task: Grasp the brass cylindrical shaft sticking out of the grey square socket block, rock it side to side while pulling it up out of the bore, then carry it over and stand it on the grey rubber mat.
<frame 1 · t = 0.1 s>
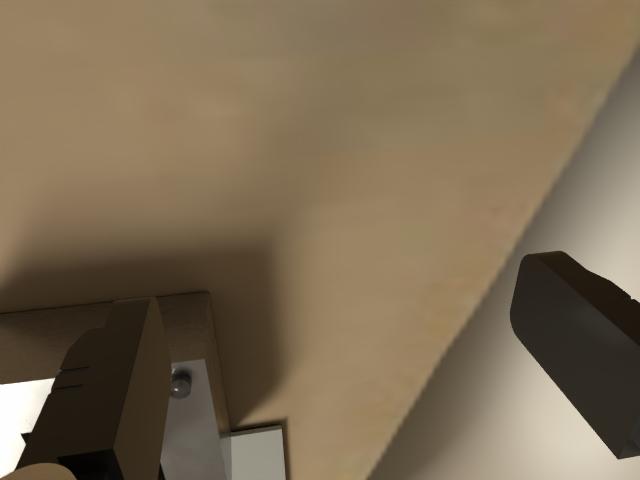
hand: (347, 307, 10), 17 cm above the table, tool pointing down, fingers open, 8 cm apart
rubber mat: (225, 472, 39), on the table
grey square socket block: (119, 383, 32), on the table
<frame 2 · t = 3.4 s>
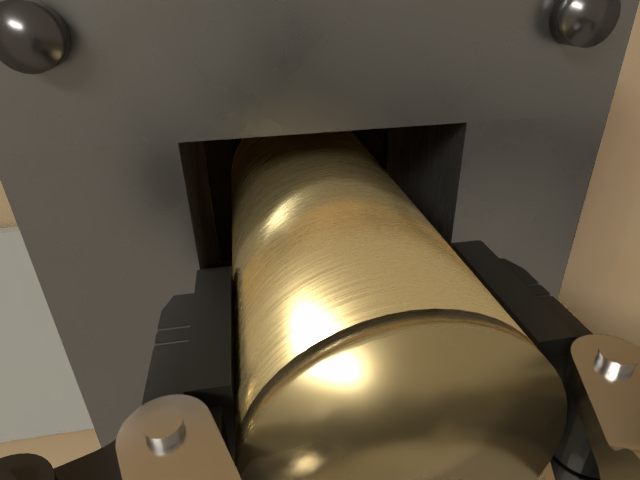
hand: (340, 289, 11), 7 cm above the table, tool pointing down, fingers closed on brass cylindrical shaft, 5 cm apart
rubber mat: (7, 343, 18), on the table
brass cylindrical shaft: (330, 257, 12), in the grey square socket block, touching gripper
grey square socket block: (299, 176, 17), on the table
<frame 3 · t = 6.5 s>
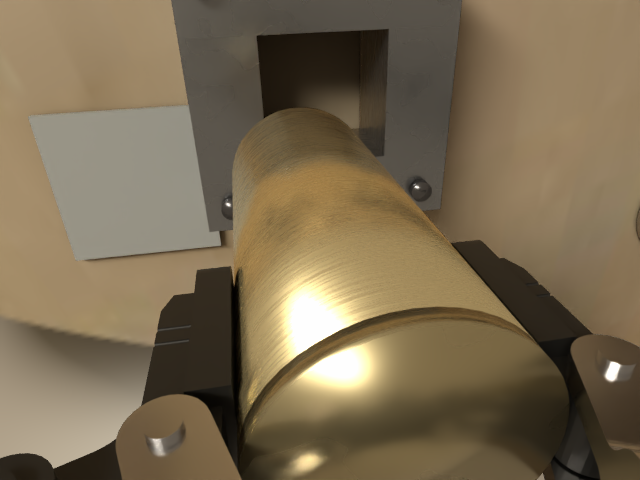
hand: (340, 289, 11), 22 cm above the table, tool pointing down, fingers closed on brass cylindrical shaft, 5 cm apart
rubber mat: (135, 185, 31), on the table
brass cylindrical shaft: (331, 256, 12), point 20 cm above the table, touching gripper
grey square socket block: (309, 80, 30), on the table
when the fingers open (9 cm above the table, at t = 9.9 s): brass cylindrical shaft stays where it is, resting on rubber mat.
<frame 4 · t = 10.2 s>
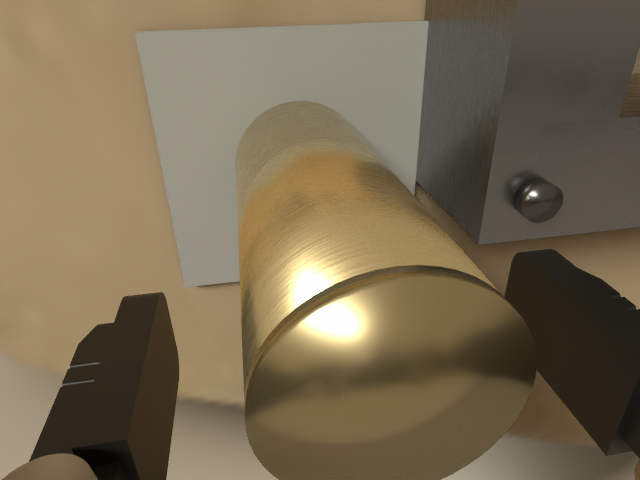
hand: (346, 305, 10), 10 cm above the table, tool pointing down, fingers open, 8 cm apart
rubber mat: (294, 163, 18), on the table
brass cylindrical shaft: (328, 237, 13), on the rubber mat
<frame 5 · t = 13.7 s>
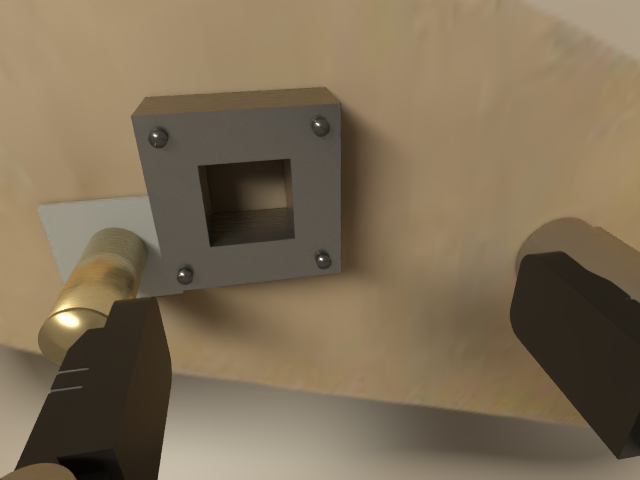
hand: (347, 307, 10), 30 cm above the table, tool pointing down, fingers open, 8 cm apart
rubber mat: (116, 251, 41), on the table
brass cylindrical shaft: (101, 291, 35), on the rubber mat
grey square socket block: (246, 176, 40), on the table
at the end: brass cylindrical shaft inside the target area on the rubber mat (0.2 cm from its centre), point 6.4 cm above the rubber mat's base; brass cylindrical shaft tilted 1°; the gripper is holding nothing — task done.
